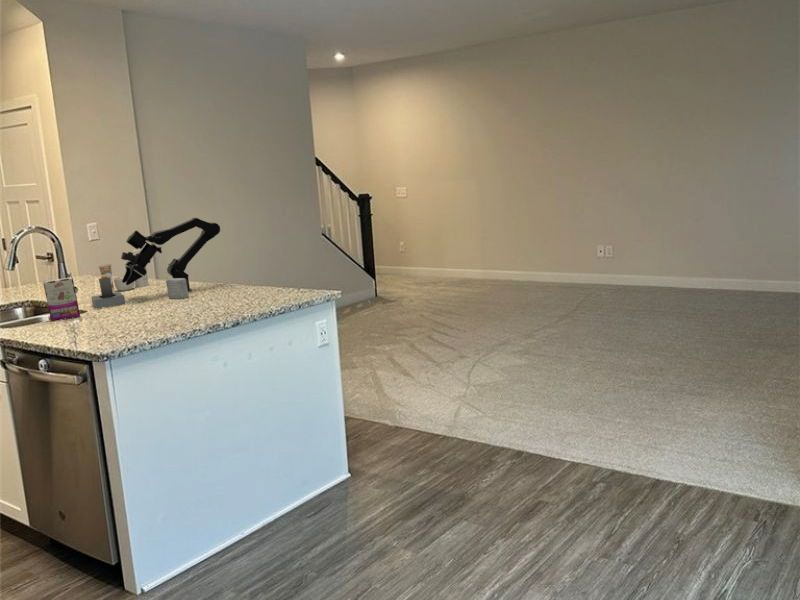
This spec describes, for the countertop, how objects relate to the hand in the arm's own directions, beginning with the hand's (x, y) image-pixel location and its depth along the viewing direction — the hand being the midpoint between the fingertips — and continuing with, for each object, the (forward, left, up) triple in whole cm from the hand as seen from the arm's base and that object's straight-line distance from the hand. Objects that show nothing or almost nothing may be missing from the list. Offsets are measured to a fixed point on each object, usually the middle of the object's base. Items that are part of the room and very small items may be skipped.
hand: (124, 283), depth 311 cm
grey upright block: (+6, +5, -8) cm, 12 cm away
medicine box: (-24, -2, -9) cm, 25 cm away
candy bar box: (+11, +29, -9) cm, 32 cm away
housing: (+6, +5, -8) cm, 12 cm away
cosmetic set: (+19, -32, -9) cm, 38 cm away
